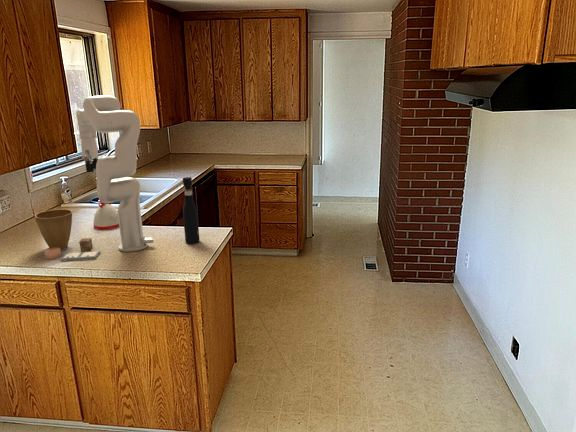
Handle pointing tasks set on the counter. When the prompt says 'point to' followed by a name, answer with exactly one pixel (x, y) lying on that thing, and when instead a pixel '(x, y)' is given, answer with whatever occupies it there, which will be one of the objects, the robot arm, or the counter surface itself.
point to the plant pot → (55, 227)
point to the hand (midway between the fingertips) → (93, 170)
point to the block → (86, 245)
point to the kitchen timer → (106, 217)
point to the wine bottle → (190, 214)
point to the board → (80, 256)
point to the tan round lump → (52, 253)
